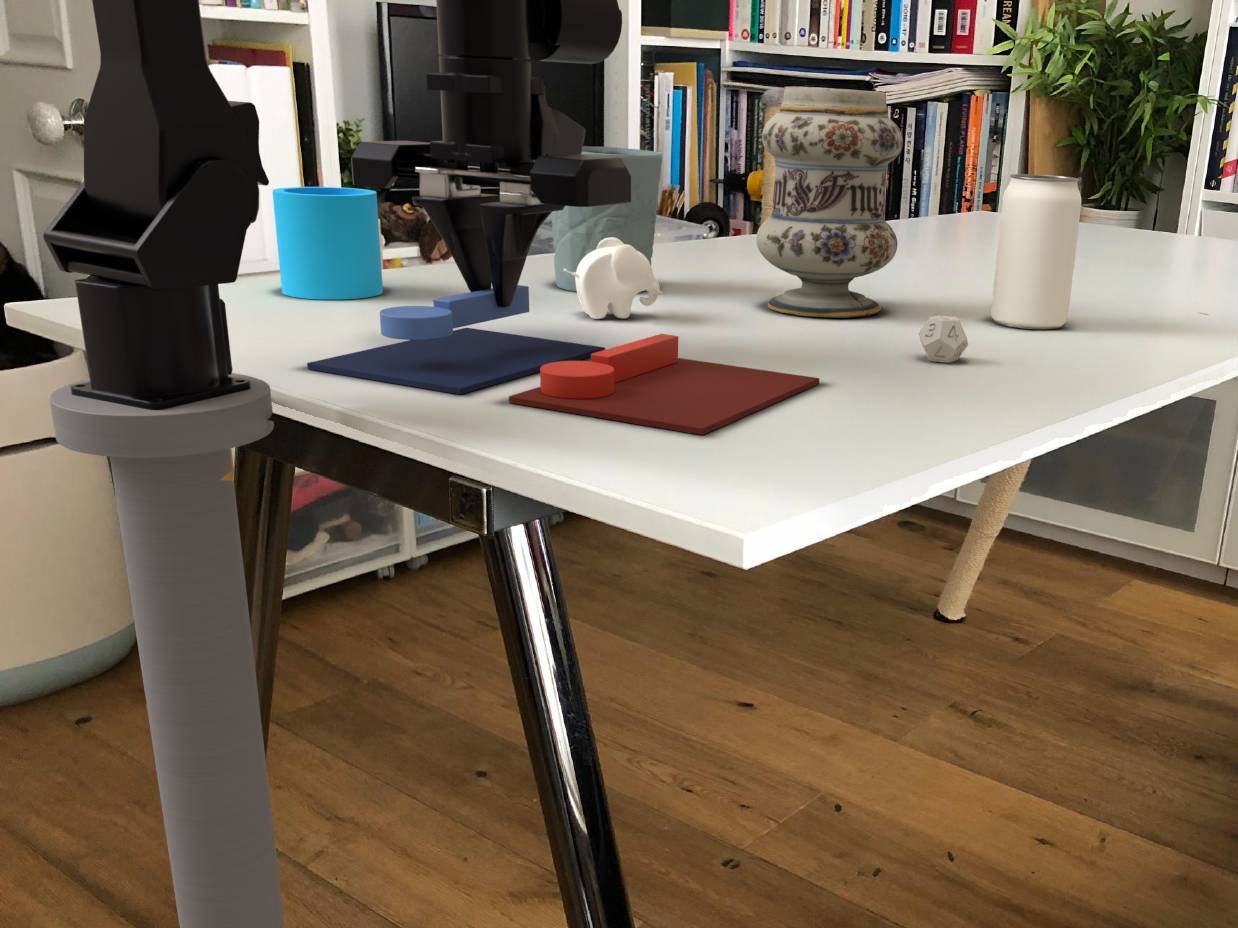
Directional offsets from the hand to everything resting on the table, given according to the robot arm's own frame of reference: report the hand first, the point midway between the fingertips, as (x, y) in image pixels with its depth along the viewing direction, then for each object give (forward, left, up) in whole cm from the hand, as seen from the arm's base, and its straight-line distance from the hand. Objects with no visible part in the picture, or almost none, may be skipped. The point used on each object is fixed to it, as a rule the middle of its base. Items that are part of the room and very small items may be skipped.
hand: (494, 305), depth 89 cm
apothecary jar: (+33, -11, -3) cm, 34 cm away
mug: (+14, +27, -3) cm, 31 cm away
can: (+38, -28, -3) cm, 47 cm away
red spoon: (-3, -12, -3) cm, 13 cm away
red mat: (-3, -16, -3) cm, 17 cm away
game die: (+18, -27, -3) cm, 32 cm away
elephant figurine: (+18, +1, -3) cm, 18 cm away
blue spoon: (-3, 0, -1) cm, 3 cm away
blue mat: (-3, 0, -3) cm, 5 cm away
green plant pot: (+31, +10, -3) cm, 33 cm away
